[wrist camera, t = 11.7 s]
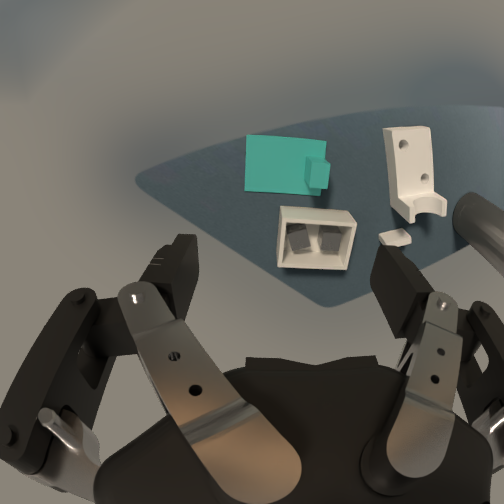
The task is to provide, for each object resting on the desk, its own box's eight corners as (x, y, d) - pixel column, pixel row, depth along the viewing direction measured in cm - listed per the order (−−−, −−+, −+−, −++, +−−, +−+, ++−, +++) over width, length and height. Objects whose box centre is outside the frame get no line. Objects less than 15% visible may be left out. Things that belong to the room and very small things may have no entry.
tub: (347, 210, 42) (357, 223, 37) (339, 254, 46) (346, 269, 41) (280, 205, 42) (282, 218, 38) (276, 250, 46) (277, 266, 42)
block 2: (337, 225, 43) (342, 234, 40) (334, 242, 44) (338, 251, 41) (319, 224, 43) (323, 232, 40) (317, 241, 44) (320, 250, 41)
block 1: (304, 221, 42) (306, 229, 40) (308, 237, 44) (311, 246, 41) (285, 225, 43) (287, 234, 40) (290, 242, 44) (292, 251, 42)
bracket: (423, 198, 40) (446, 215, 34) (389, 205, 41) (409, 223, 35) (418, 125, 34) (444, 131, 27) (381, 128, 35) (404, 134, 28)
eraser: (378, 233, 44) (386, 243, 40) (402, 227, 43) (411, 236, 40) (378, 239, 44) (386, 250, 41) (402, 233, 43) (411, 243, 40)
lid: (325, 140, 37) (335, 145, 32) (319, 194, 41) (327, 207, 36) (246, 134, 37) (244, 138, 32) (244, 189, 41) (242, 201, 36)
